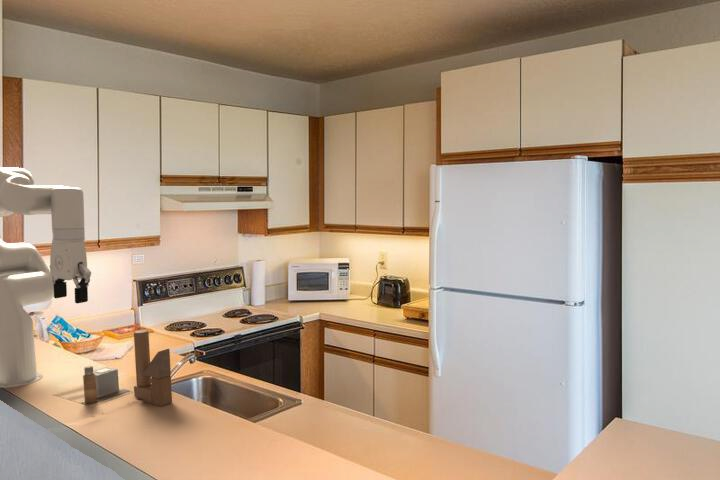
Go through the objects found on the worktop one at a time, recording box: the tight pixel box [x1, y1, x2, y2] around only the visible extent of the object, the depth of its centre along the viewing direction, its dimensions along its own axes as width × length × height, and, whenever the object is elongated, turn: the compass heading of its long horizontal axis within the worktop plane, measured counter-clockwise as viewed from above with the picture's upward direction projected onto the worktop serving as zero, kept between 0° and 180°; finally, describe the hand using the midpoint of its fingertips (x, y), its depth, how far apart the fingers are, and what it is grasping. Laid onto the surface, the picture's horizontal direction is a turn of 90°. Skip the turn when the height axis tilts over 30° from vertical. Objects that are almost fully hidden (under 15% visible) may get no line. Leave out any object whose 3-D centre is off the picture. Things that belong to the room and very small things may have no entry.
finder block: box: [93, 366, 120, 396], centre depth 155 cm, size 5×6×6 cm
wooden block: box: [133, 329, 173, 407], centre depth 149 cm, size 4×11×18 cm, turn 58°
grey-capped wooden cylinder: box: [82, 365, 97, 404], centre depth 147 cm, size 3×3×9 cm
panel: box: [52, 384, 134, 408], centre depth 154 cm, size 18×12×1 cm, turn 57°
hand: (70, 299), depth 151 cm, fingers open, 9 cm apart
